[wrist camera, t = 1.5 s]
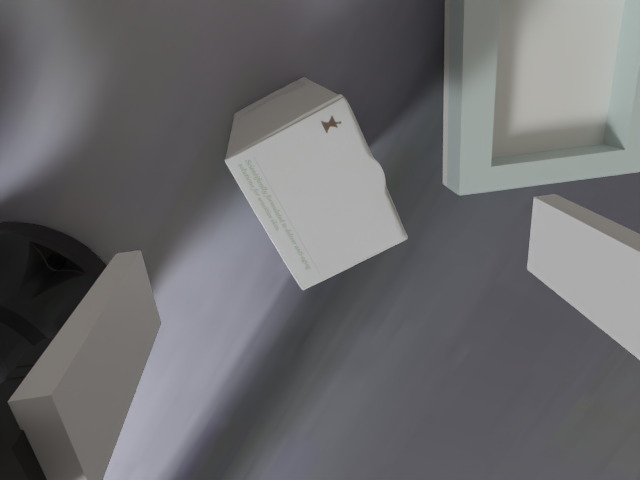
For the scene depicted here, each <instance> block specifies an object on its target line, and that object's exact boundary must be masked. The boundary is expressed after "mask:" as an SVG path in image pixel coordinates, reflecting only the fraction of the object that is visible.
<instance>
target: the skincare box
mask: <svg viewBox="0 0 640 480" xmlns="http://www.w3.org/2000/svg"><path fill="white" fill-rule="evenodd" d="M225 163H226V164H227V166H228V168H229V170H230V171H231V173H232V175H233V176H234V178H235V180H236V182H237V183H238V185H239V187H240V188H241V190H242V192H243V193H244V195H245V197H246V199H247V200H248V202H249V204H250V205H251V207H252V209H253V210H254V212H255V214H256V215H257V217H258V219H259V220H260V222H261V224H262V225H263V227H264V229H265V231H266V232H267V234H268V236H269V237H270V239H271V241H272V242H273V244H274V246H275V247H276V249H277V251H278V252H279V254H280V256H281V257H282V259H283V261H284V262H285V264H286V265H287V267H288V269H289V270H290V272H291V274H292V275H293V277H294V278H295V280H296V281H297V283H298V285H299V286H300V288H301V289H302V290H305V289H307V288H309V287H311V286H313V285H315V284H317V283H319V282H321V281H324V280H326V279H328V278H330V277H332V276H334V275H336V274H338V273H340V272H342V271H344V270H346V269H348V268H350V267H352V266H354V265H356V264H358V263H360V262H362V261H364V260H366V259H368V258H370V257H372V256H374V255H376V254H378V253H380V252H382V251H384V250H386V249H388V248H390V247H392V246H394V245H396V244H398V243H400V242H402V241H405V240H406V239H407V238H408V236H407V234H406V232H405V230H404V227H403V225H402V223H401V220H400V218H399V215H398V213H397V211H396V208H395V206H394V203H393V201H392V199H391V196H390V194H389V192H388V189H387V187H386V181H385V175H384V172H383V170H382V168H381V166H380V164H379V163H378V162H377V161H376V160H375V159H374V158H373V156H372V154H371V151H370V149H369V147H368V145H367V142H366V140H365V138H364V136H363V133H362V131H361V129H360V127H359V125H358V122H357V120H356V118H355V116H354V113H353V111H352V109H351V107H350V105H349V103H348V101H347V100H346V98H345V97H343V95H342V94H336V93H334V92H332V91H330V90H328V89H326V88H325V87H323V86H320V85H319V84H317V83H315V82H313V81H311V80H309V79H307V78H306V77H302V78H300V79H298V80H296V81H294V82H292V83H290V84H288V85H286V86H284V87H282V88H281V89H279V90H277V91H275V92H273V93H271V94H269V95H267V96H265V97H264V98H262V99H260V100H258V101H256V102H254V103H253V104H251V105H249V106H247V107H245V108H243V109H242V110H240V111H238V112H236V113H235V114H234V119H233V124H232V129H231V135H230V140H229V144H228V149H227V154H226V159H225Z"/></svg>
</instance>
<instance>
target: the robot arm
mask: <svg viewBox="0 0 640 480" xmlns="http://www.w3.org/2000/svg"><path fill="white" fill-rule="evenodd" d="M527 270H529V271H530V272H531V273H532V274H534V275H535V276H536V277H537V278H539V279H540V280H541V281H542V282H544V283H545V284H546V285H547V286H548V287H550V288H551V289H552V290H553V291H555V292H556V293H557V294H558V295H560V296H561V297H562V298H563V299H565V300H566V301H567V302H568V303H570V304H571V305H572V306H573V307H575V308H576V309H577V310H578V311H580V312H581V313H582V314H583V315H584V316H586V317H587V318H588V319H589V320H591V321H592V322H593V323H594V324H596V325H597V326H598V327H599V328H601V329H602V330H603V331H604V332H606V333H607V334H608V335H609V336H611V337H612V338H613V339H614V340H615V341H617V342H618V343H619V344H620V345H622V346H623V347H624V348H625V349H627V350H628V351H629V352H630V353H632V354H633V355H634V356H635V357H637V358H638V359H639V360H640V234H639V233H636V232H634V231H632V230H630V229H628V228H626V227H624V226H622V225H619V224H617V223H615V222H613V221H611V220H609V219H607V218H605V217H603V216H600V215H598V214H596V213H594V212H592V211H590V210H588V209H586V208H584V207H581V206H579V205H577V204H575V203H573V202H571V201H569V200H567V199H565V198H562V197H560V196H558V195H556V194H552V195H545V196H537V197H534V200H533V211H532V222H531V232H530V243H529V254H528V264H527ZM160 325H161V321H160V317H159V313H158V310H157V306H156V303H155V299H154V296H153V292H152V288H151V285H150V281H149V278H148V274H147V270H146V267H145V263H144V260H143V256H142V252H141V250H137V251H130V252H122V253H116V254H115V256H114V257H113V258H112V260H111V261H110V263H109V264H108V265H107V266H106V265H105V264H104V263H103V262H102V260H101V259H100V258H99V257H98V256H97V255H95V254H94V253H93V252H92V251H91V250H90V249H88V248H87V247H86V246H84V245H83V244H81V243H80V242H78V241H76V240H75V239H73V238H71V237H69V236H67V235H65V234H63V233H61V232H58V231H56V230H53V229H50V228H47V227H43V226H39V225H34V224H28V223H18V222H3V223H0V480H103V477H104V475H105V472H106V469H107V467H108V464H109V461H110V459H111V456H112V453H113V450H114V448H115V445H116V442H117V440H118V437H119V434H120V432H121V429H122V426H123V424H124V421H125V418H126V416H127V413H128V410H129V408H130V405H131V402H132V400H133V397H134V394H135V392H136V389H137V386H138V384H139V381H140V378H141V376H142V373H143V370H144V368H145V365H146V362H147V360H148V357H149V354H150V352H151V349H152V346H153V344H154V341H155V338H156V336H157V333H158V330H159V327H160Z"/></svg>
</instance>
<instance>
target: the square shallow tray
mask: <svg viewBox="0 0 640 480" xmlns="http://www.w3.org/2000/svg"><path fill="white" fill-rule="evenodd" d="M635 172H640V0H445V24H444V112H443V184H444V185H445V186H446V187H448V188H449V189H451V190H452V191H453V192H455V193H456V194H458V195H459V196H460V195H468V194H475V193H483V192H490V191H498V190H506V189H513V188H521V187H528V186H536V185H544V184H551V183H559V182H566V181H574V180H582V179H589V178H597V177H604V176H612V175H620V174H627V173H635Z"/></svg>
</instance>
